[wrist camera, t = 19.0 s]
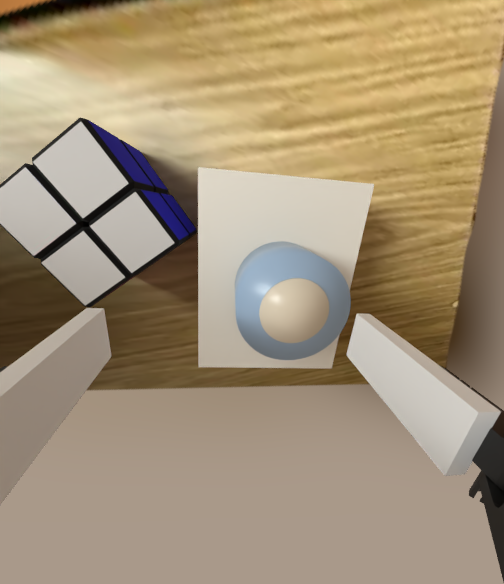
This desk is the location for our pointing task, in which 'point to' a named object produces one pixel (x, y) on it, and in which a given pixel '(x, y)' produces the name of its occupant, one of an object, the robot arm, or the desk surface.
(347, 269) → the hinged white flap
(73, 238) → the puzzle cube
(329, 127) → the desk surface
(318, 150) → the desk surface
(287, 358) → the blue domed cylinder
